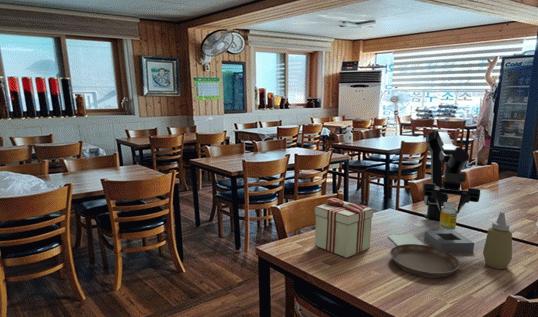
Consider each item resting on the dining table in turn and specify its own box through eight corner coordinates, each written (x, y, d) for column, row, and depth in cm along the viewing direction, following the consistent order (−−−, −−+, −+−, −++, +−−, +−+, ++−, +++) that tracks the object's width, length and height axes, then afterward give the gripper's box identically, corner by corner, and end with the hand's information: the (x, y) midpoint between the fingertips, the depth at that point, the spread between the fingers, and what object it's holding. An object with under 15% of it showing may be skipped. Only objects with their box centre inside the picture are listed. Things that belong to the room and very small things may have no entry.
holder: (424, 239, 140) (424, 230, 139) (454, 239, 140) (455, 230, 140) (440, 252, 128) (441, 243, 127) (473, 252, 129) (474, 242, 128)
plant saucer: (468, 285, 106) (469, 274, 106) (394, 278, 110) (395, 268, 109) (447, 255, 126) (448, 246, 126) (385, 250, 130) (386, 241, 129)
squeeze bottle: (506, 262, 121) (513, 210, 118) (514, 273, 113) (521, 217, 110) (479, 258, 123) (485, 207, 120) (484, 269, 116) (490, 214, 113)
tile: (387, 236, 142) (387, 235, 142) (412, 236, 143) (412, 234, 143) (398, 246, 133) (398, 245, 132) (424, 246, 133) (424, 244, 133)
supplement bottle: (444, 224, 137) (446, 200, 136) (458, 229, 133) (461, 203, 131) (436, 227, 134) (438, 202, 133) (450, 232, 130) (452, 206, 128)
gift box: (376, 244, 134) (378, 199, 132) (350, 260, 121) (352, 210, 118) (336, 233, 146) (338, 191, 143) (309, 246, 132) (310, 200, 130)
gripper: (425, 161, 137) (420, 197, 129) (482, 166, 129) (481, 204, 121) (425, 178, 145) (421, 212, 138) (479, 183, 137) (477, 220, 129)
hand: (448, 212), depth 131 cm, fingers closed on supplement bottle, 5 cm apart
